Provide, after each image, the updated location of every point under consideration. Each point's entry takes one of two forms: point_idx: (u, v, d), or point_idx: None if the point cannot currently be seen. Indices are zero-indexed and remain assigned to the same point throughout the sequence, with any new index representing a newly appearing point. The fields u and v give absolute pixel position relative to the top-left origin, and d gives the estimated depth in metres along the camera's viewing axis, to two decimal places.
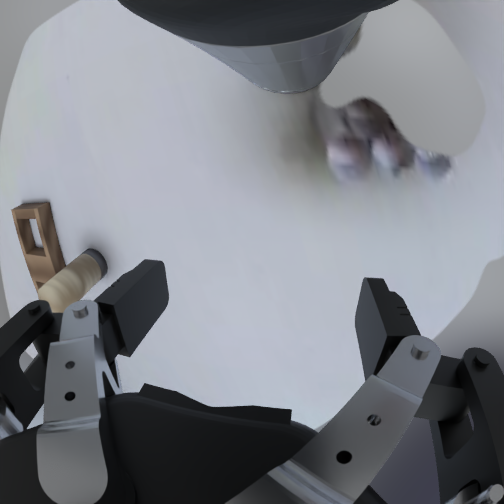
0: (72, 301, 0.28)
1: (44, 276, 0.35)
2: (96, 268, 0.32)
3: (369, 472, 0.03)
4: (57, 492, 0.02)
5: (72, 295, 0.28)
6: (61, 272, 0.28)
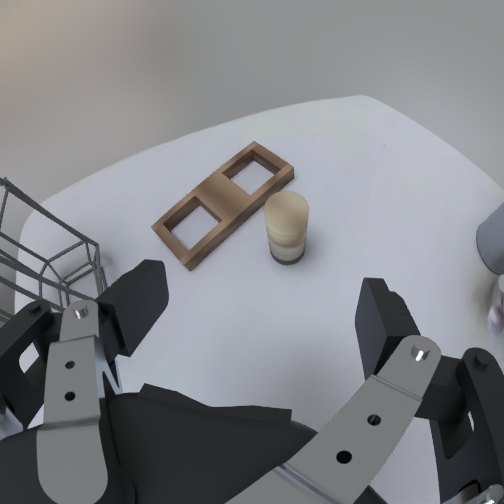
0: (298, 235, 0.28)
1: (217, 202, 0.38)
2: (303, 249, 0.34)
3: (369, 472, 0.03)
4: (57, 492, 0.02)
5: (302, 232, 0.29)
6: None
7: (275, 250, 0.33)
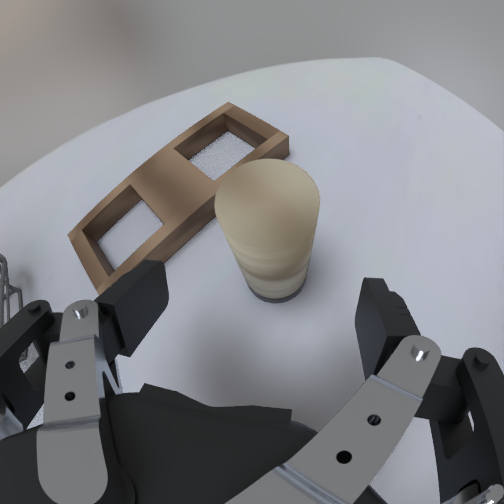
0: (294, 258, 0.13)
1: (161, 193, 0.22)
2: (304, 278, 0.18)
3: (369, 472, 0.03)
4: (57, 492, 0.02)
5: (305, 252, 0.13)
6: None
7: (250, 282, 0.17)
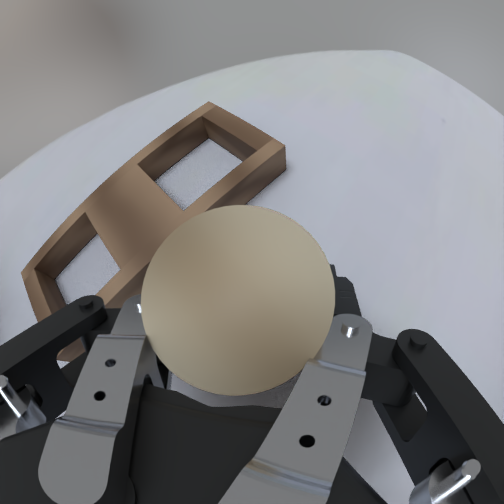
0: None
1: (118, 227, 0.16)
2: None
3: (337, 449, 0.03)
4: (51, 485, 0.02)
5: None
6: None
7: None
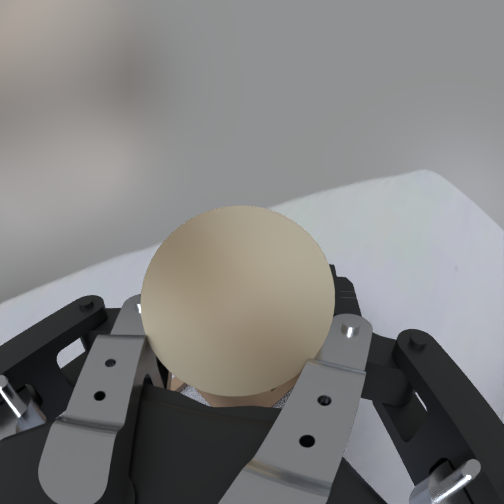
0: None
1: (222, 397, 0.23)
2: None
3: (337, 449, 0.03)
4: (51, 485, 0.02)
5: None
6: None
7: None
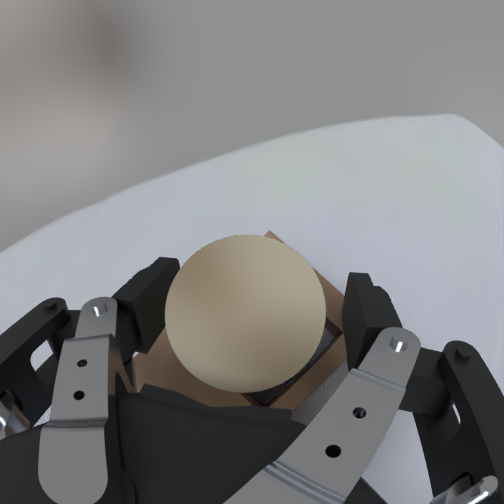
0: None
1: None
2: None
3: (360, 464, 0.03)
4: (55, 490, 0.02)
5: None
6: None
7: None
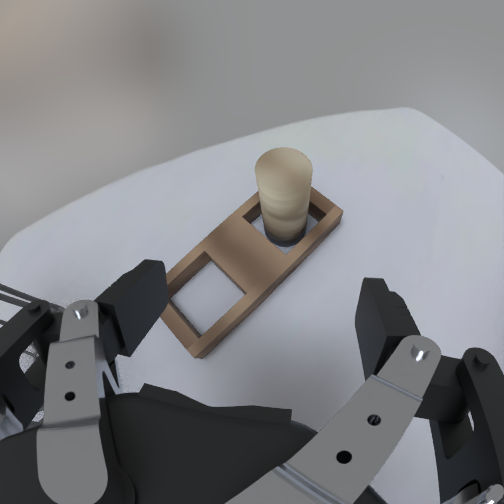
0: (299, 202, 0.22)
1: (238, 264, 0.26)
2: (305, 226, 0.27)
3: (369, 472, 0.03)
4: (57, 492, 0.02)
5: (305, 199, 0.22)
6: None
7: (270, 226, 0.26)
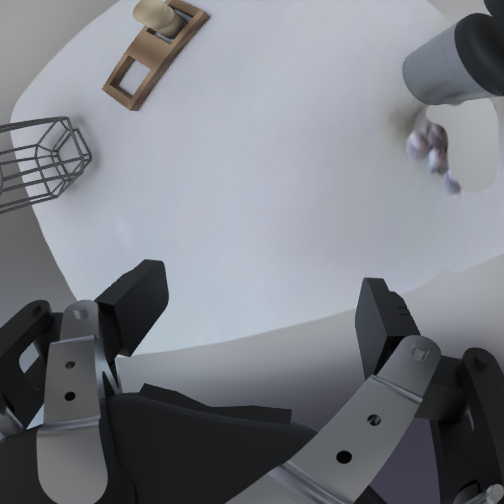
0: (160, 20, 0.27)
1: (145, 56, 0.34)
2: (181, 26, 0.32)
3: (369, 472, 0.03)
4: (57, 492, 0.02)
5: (164, 17, 0.27)
6: (167, 5, 0.27)
7: (158, 32, 0.31)
